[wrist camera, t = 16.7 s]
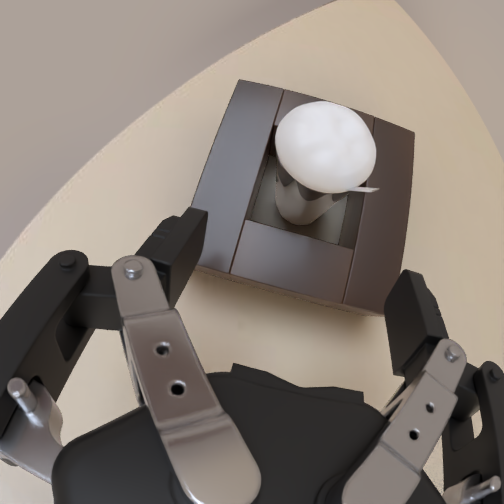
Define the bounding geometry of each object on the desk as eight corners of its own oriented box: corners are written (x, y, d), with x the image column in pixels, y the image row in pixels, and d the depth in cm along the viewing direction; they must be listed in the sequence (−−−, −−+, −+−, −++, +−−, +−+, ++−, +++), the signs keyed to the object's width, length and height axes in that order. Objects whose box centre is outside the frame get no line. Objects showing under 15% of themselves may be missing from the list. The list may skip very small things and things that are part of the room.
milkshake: (284, 257, 20) (318, 209, 11) (255, 182, 21) (262, 88, 11) (347, 234, 21) (420, 175, 11) (316, 163, 22) (359, 70, 12)
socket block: (392, 157, 22) (415, 132, 18) (365, 316, 20) (391, 317, 16) (239, 112, 22) (238, 78, 18) (187, 268, 20) (173, 258, 16)
